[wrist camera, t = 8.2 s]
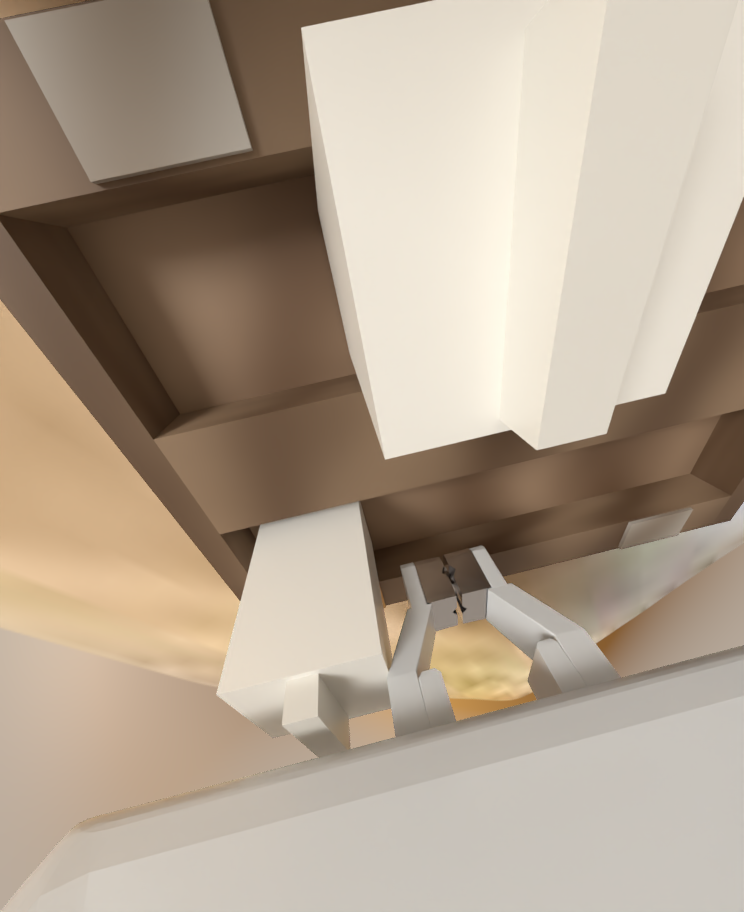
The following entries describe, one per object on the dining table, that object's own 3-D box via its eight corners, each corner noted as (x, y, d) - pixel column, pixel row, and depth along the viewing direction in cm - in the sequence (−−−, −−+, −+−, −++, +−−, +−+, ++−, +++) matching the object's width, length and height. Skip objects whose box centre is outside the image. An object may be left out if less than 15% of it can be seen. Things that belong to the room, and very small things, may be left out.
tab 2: (469, 178, 7) (1117, -265, 1) (469, 326, 9) (734, 417, 3) (318, 211, 7) (288, -107, 1) (349, 354, 9) (397, 497, 3)
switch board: (941, -59, 7) (1294, -249, 5) (670, 484, 17) (734, 522, 14) (-1, 138, 7) (-208, 50, 4) (275, 580, 17) (266, 638, 14)
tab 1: (356, 487, 12) (387, 694, 6) (371, 542, 14) (407, 741, 8) (264, 509, 12) (204, 741, 6) (292, 562, 14) (268, 776, 8)
